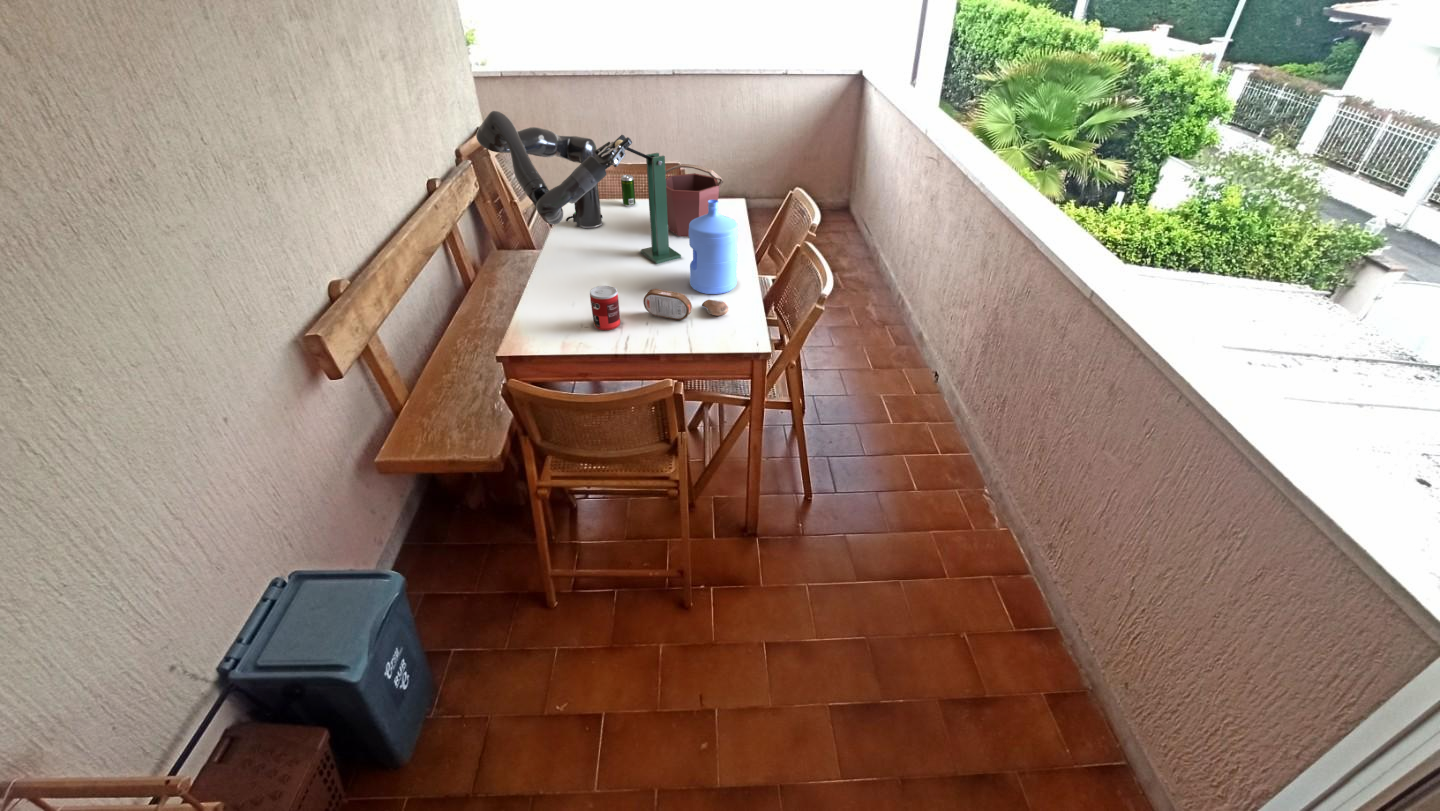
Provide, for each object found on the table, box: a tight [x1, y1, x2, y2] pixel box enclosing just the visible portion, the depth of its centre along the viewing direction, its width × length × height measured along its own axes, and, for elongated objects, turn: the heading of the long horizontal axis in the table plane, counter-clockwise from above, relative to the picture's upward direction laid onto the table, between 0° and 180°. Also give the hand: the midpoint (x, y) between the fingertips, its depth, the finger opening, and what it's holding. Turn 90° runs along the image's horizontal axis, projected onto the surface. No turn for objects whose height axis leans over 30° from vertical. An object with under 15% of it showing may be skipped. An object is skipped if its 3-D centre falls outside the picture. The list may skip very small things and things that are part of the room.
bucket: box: [665, 163, 724, 238], centre depth 246 cm, size 24×22×25 cm
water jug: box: [688, 199, 739, 295], centre depth 206 cm, size 16×16×28 cm
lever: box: [615, 140, 655, 163], centre depth 208 cm, size 17×3×3 cm, turn 124°
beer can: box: [620, 174, 636, 208], centre depth 273 cm, size 5×5×12 cm
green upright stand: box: [640, 152, 682, 265], centre depth 222 cm, size 10×12×35 cm
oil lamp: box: [701, 299, 729, 317], centre depth 198 cm, size 9×4×8 cm
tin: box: [642, 288, 693, 321], centre depth 193 cm, size 15×3×8 cm, turn 71°
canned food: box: [589, 285, 621, 331], centre depth 189 cm, size 8×8×11 cm
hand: (627, 138), depth 204 cm, fingers closed on lever, 3 cm apart
